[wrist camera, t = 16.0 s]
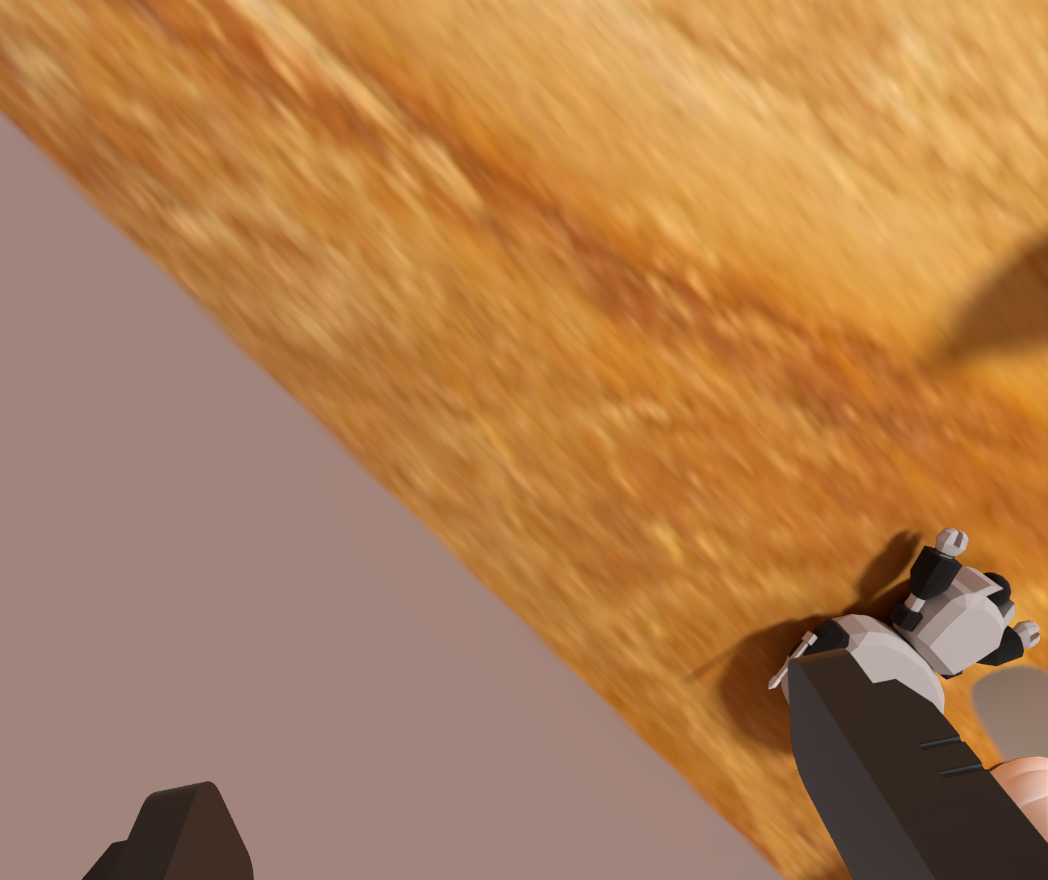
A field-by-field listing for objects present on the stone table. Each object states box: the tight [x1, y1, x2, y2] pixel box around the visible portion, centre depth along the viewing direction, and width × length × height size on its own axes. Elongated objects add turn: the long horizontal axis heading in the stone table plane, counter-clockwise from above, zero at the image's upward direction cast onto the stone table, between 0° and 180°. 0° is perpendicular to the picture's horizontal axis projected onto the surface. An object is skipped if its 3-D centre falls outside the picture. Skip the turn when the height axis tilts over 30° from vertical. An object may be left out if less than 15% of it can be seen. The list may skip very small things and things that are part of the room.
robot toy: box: [768, 527, 1040, 714], centre depth 47 cm, size 12×4×15 cm
